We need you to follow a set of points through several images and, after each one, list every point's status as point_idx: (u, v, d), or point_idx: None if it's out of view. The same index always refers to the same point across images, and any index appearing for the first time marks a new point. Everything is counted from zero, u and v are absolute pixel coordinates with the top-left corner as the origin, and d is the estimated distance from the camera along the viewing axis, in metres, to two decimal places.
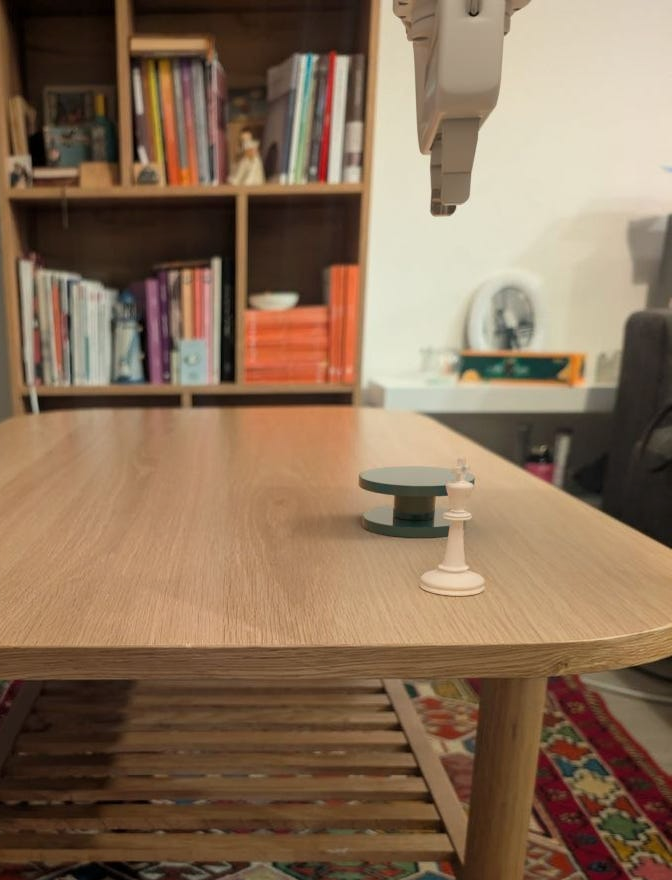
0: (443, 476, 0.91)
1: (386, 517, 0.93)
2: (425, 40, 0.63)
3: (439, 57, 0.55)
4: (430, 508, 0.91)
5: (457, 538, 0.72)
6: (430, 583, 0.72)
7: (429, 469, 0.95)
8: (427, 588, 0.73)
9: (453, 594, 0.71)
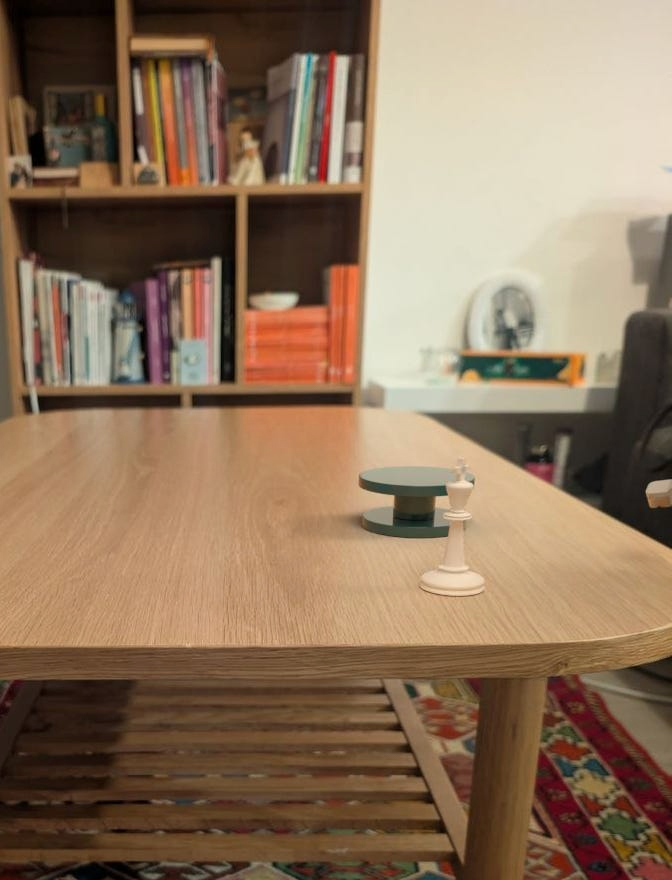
0: (443, 476, 0.91)
1: (386, 517, 0.93)
2: None
3: None
4: (430, 508, 0.91)
5: (457, 538, 0.72)
6: (430, 583, 0.72)
7: (429, 469, 0.95)
8: (427, 588, 0.73)
9: (453, 594, 0.71)
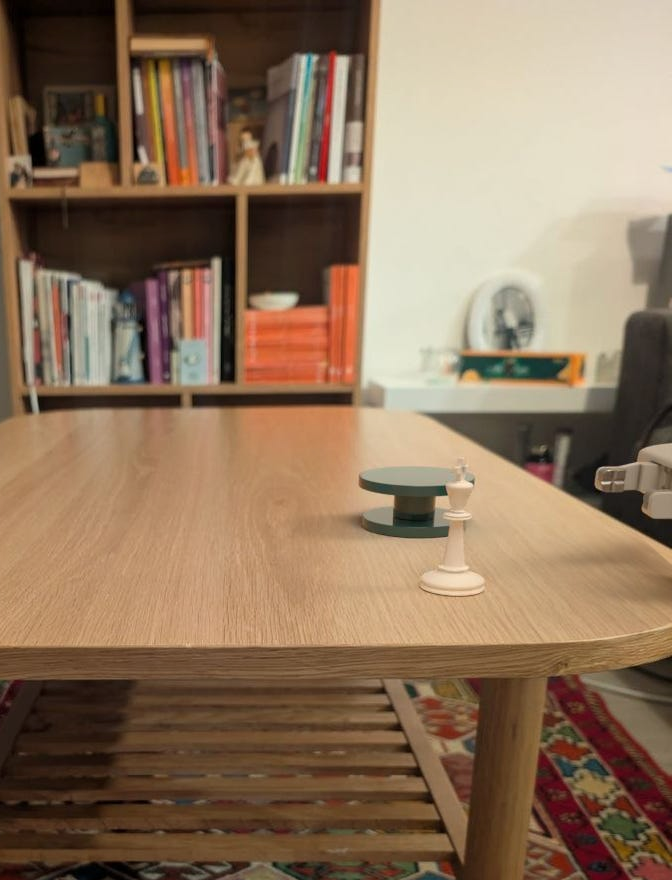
0: (443, 476, 0.91)
1: (386, 517, 0.93)
2: None
3: None
4: (430, 508, 0.91)
5: (457, 538, 0.72)
6: (430, 583, 0.72)
7: (429, 469, 0.95)
8: (427, 588, 0.73)
9: (453, 594, 0.71)
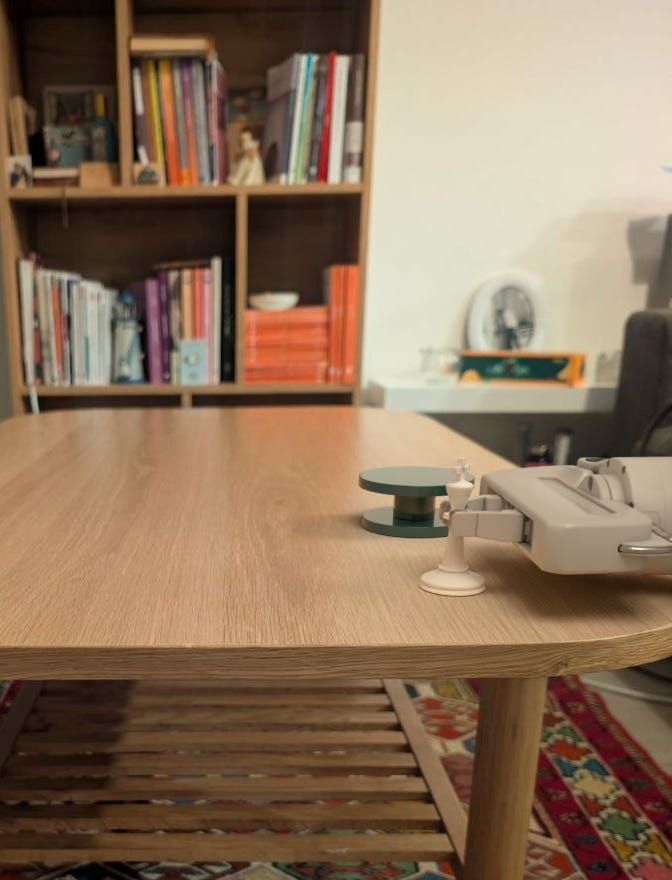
0: (443, 476, 0.91)
1: (386, 517, 0.93)
2: (587, 487, 0.71)
3: (590, 522, 0.62)
4: (430, 508, 0.91)
5: (457, 538, 0.72)
6: (430, 583, 0.72)
7: (429, 469, 0.95)
8: (427, 588, 0.73)
9: (453, 594, 0.71)
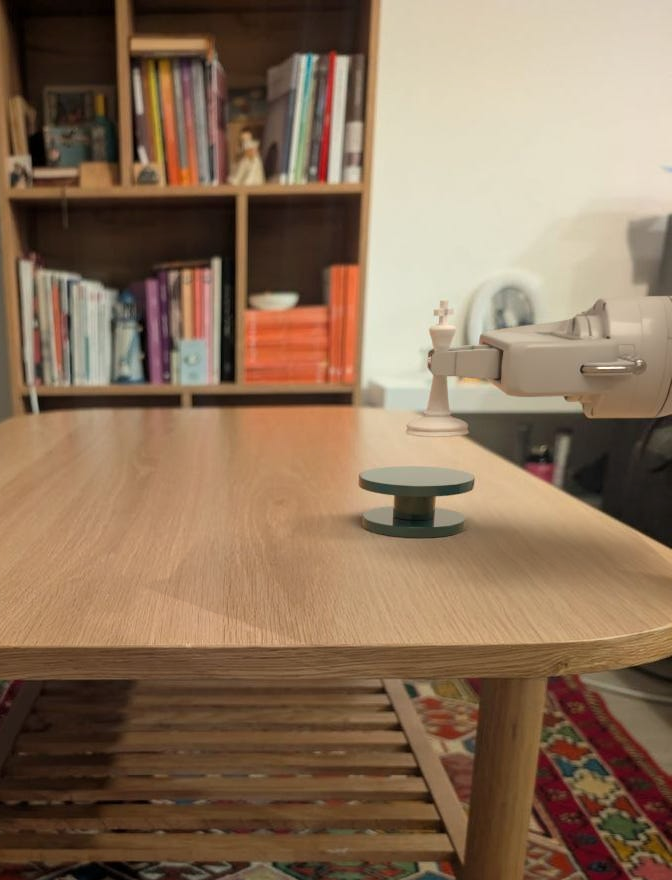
0: (443, 476, 0.91)
1: (386, 517, 0.93)
2: (571, 329, 0.72)
3: (552, 342, 0.63)
4: (430, 508, 0.91)
5: (440, 382, 0.74)
6: (413, 426, 0.75)
7: (429, 469, 0.95)
8: (410, 432, 0.75)
9: (433, 435, 0.74)
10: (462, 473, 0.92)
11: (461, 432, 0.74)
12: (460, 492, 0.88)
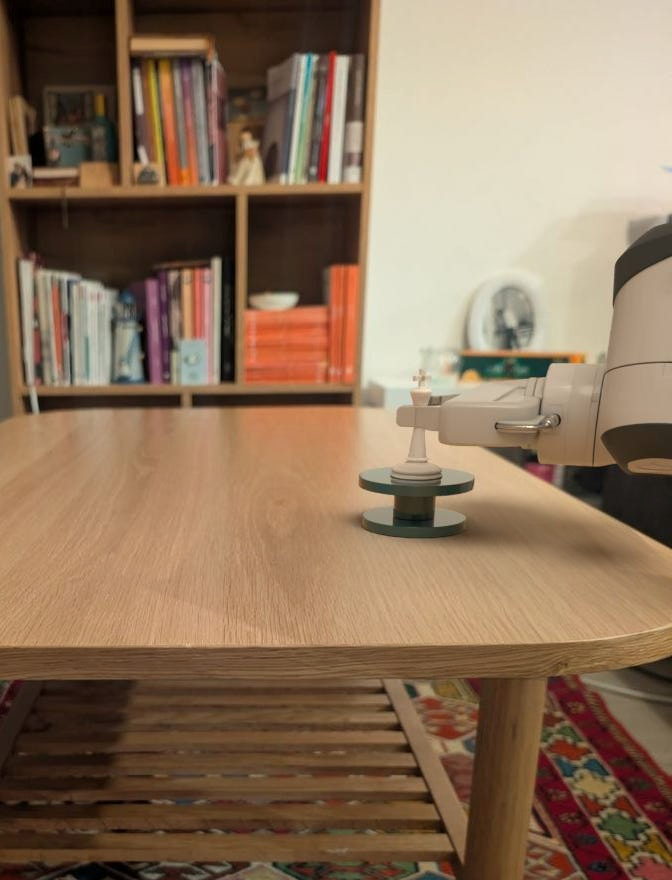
0: (443, 476, 0.91)
1: (386, 517, 0.93)
2: None
3: (473, 403, 0.78)
4: (430, 508, 0.91)
5: (417, 434, 0.90)
6: (393, 469, 0.91)
7: None
8: (391, 473, 0.92)
9: (406, 478, 0.90)
10: (462, 473, 0.92)
11: (431, 476, 0.90)
12: (460, 492, 0.88)
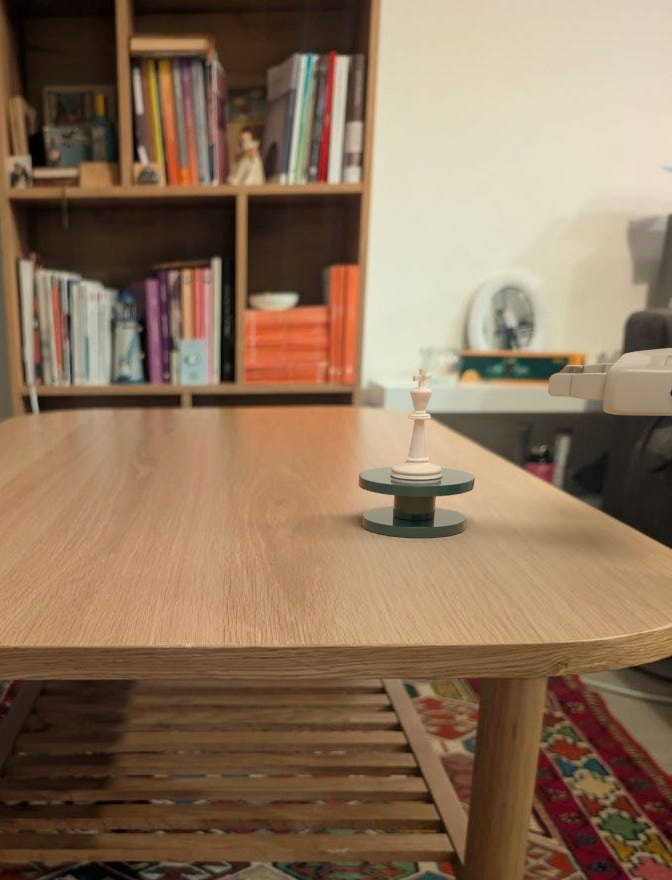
0: (443, 476, 0.91)
1: (386, 517, 0.93)
2: None
3: (646, 368, 0.72)
4: (430, 508, 0.91)
5: (417, 434, 0.90)
6: (393, 469, 0.91)
7: None
8: (391, 473, 0.92)
9: (406, 478, 0.90)
10: (462, 473, 0.92)
11: (431, 476, 0.90)
12: (460, 492, 0.88)
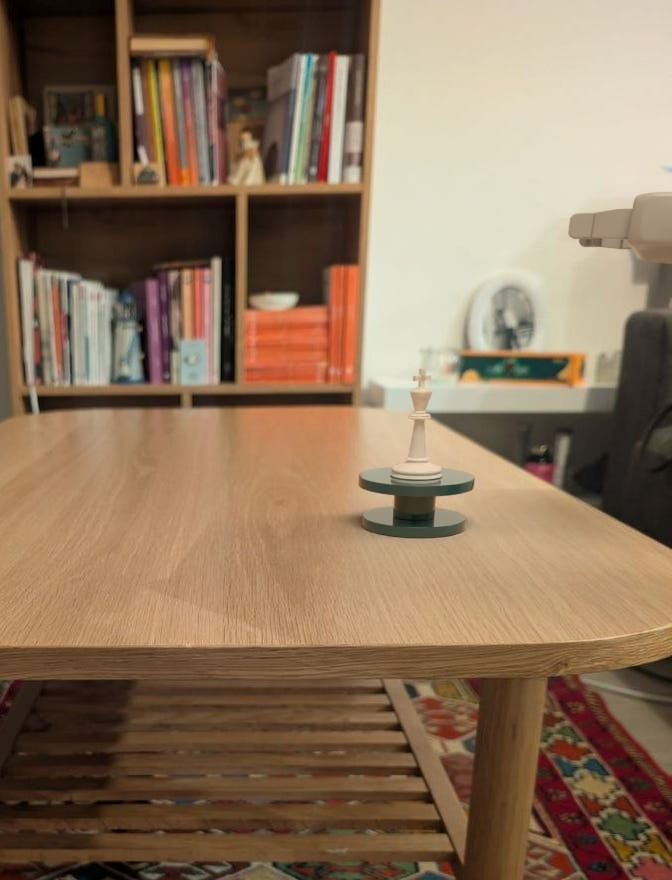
0: (443, 476, 0.91)
1: (386, 517, 0.93)
2: None
3: None
4: (430, 508, 0.91)
5: (417, 434, 0.90)
6: (393, 469, 0.91)
7: None
8: (391, 473, 0.92)
9: (406, 478, 0.90)
10: (462, 473, 0.92)
11: (431, 476, 0.90)
12: (460, 492, 0.88)
